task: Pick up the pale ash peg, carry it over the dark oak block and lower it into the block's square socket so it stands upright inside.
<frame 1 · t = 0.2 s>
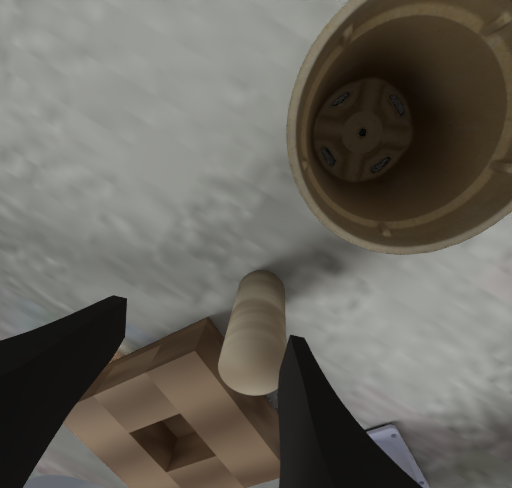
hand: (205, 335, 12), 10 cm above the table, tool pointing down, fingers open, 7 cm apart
socket block: (187, 402, 27), on the table
peg: (261, 291, 22), on the table
flower pot: (357, 132, 18), on the table
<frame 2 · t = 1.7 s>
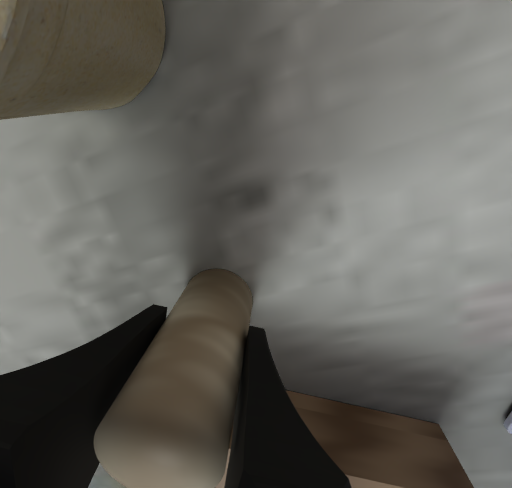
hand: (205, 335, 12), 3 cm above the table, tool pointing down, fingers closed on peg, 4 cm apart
socket block: (292, 473, 19), on the table
peg: (218, 299, 15), on the table, touching gripper
flower pot: (92, 26, 12), on the table
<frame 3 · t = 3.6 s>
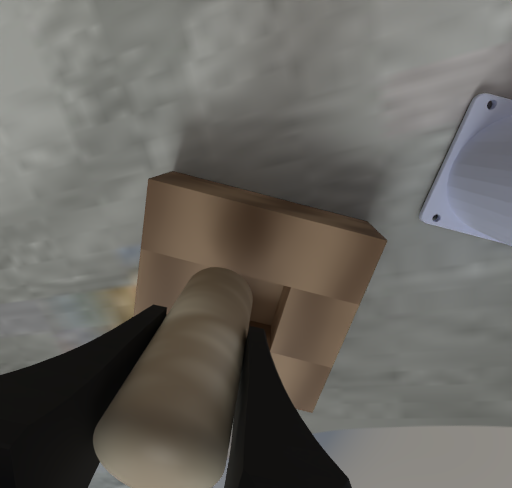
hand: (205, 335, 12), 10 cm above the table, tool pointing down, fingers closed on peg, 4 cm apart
socket block: (247, 282, 23), on the table
peg: (218, 298, 15), point 7 cm above the table, touching gripper
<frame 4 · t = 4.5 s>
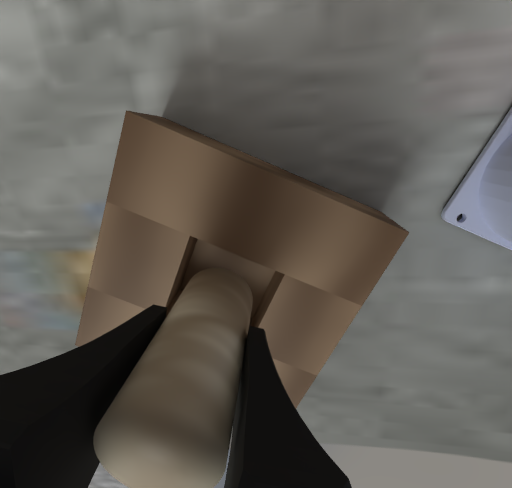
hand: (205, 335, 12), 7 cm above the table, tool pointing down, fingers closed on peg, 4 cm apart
socket block: (232, 265, 19), on the table
peg: (218, 298, 15), point 4 cm above the table, touching gripper
when the fingers open (5 cm above the table, at t = 5.4 s): peg stays where it is, resting on socket block.
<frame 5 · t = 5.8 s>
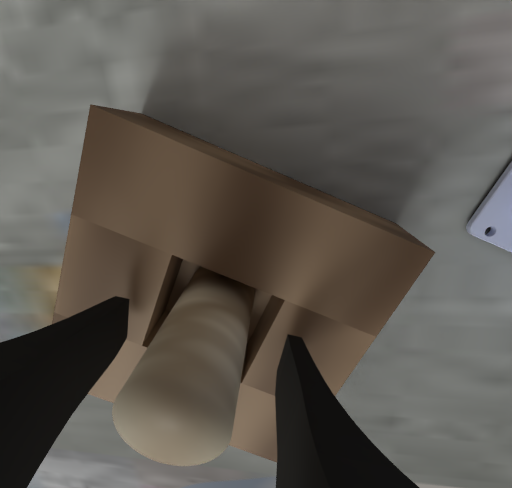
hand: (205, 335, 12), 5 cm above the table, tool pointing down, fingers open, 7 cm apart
socket block: (225, 283, 17), on the table
peg: (222, 290, 16), point 1 cm above the table, touching socket block
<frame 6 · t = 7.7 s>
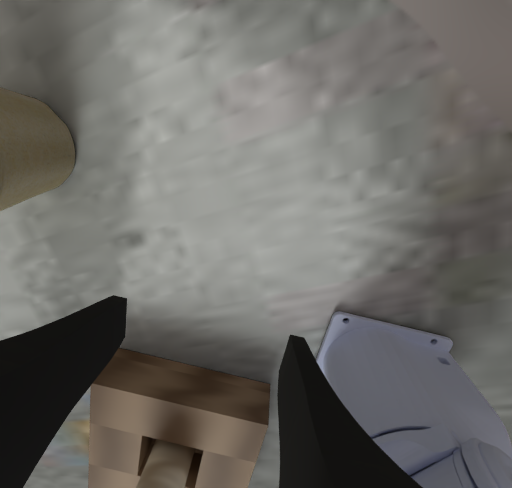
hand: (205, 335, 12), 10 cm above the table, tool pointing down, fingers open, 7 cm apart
socket block: (184, 420, 28), on the table
peg: (180, 429, 27), point 1 cm above the table, touching socket block
flower pot: (36, 145, 21), on the table
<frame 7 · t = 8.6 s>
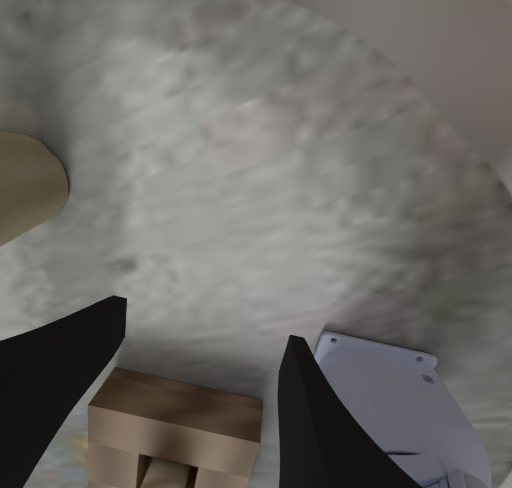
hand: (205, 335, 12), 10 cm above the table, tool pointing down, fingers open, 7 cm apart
socket block: (180, 435, 29), on the table
peg: (177, 445, 28), point 1 cm above the table, touching socket block
flower pot: (30, 178, 21), on the table
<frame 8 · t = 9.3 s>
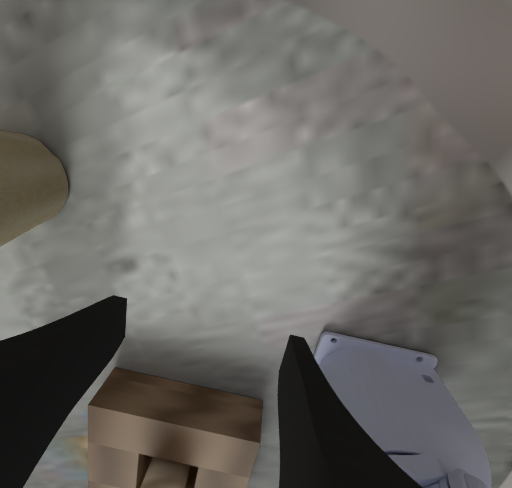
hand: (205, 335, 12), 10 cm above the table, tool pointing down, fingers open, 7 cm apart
socket block: (180, 435, 29), on the table
peg: (177, 445, 28), point 1 cm above the table, touching socket block
flower pot: (30, 178, 21), on the table
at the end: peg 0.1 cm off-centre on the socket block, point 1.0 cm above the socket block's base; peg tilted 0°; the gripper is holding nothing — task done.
